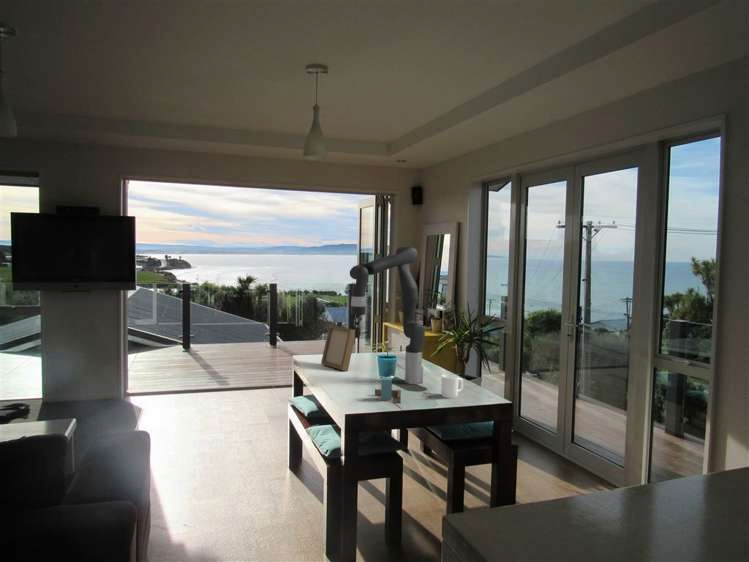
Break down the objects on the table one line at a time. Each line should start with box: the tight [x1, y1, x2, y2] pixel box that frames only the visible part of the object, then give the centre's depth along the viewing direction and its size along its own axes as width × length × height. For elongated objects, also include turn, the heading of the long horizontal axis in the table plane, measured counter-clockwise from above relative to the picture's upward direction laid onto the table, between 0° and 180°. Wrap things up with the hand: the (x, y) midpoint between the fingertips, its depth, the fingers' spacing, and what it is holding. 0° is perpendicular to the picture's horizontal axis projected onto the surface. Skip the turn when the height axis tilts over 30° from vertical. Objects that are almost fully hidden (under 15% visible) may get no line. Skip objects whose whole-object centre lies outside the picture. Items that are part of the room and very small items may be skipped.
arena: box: [374, 388, 402, 404], centre depth 270 cm, size 13×13×3 cm
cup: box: [440, 374, 464, 399], centre depth 279 cm, size 8×12×10 cm
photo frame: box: [320, 324, 356, 372], centre depth 338 cm, size 15×22×25 cm
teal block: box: [380, 376, 393, 400], centre depth 270 cm, size 5×5×10 cm
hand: (357, 336), depth 283 cm, fingers open, 8 cm apart
